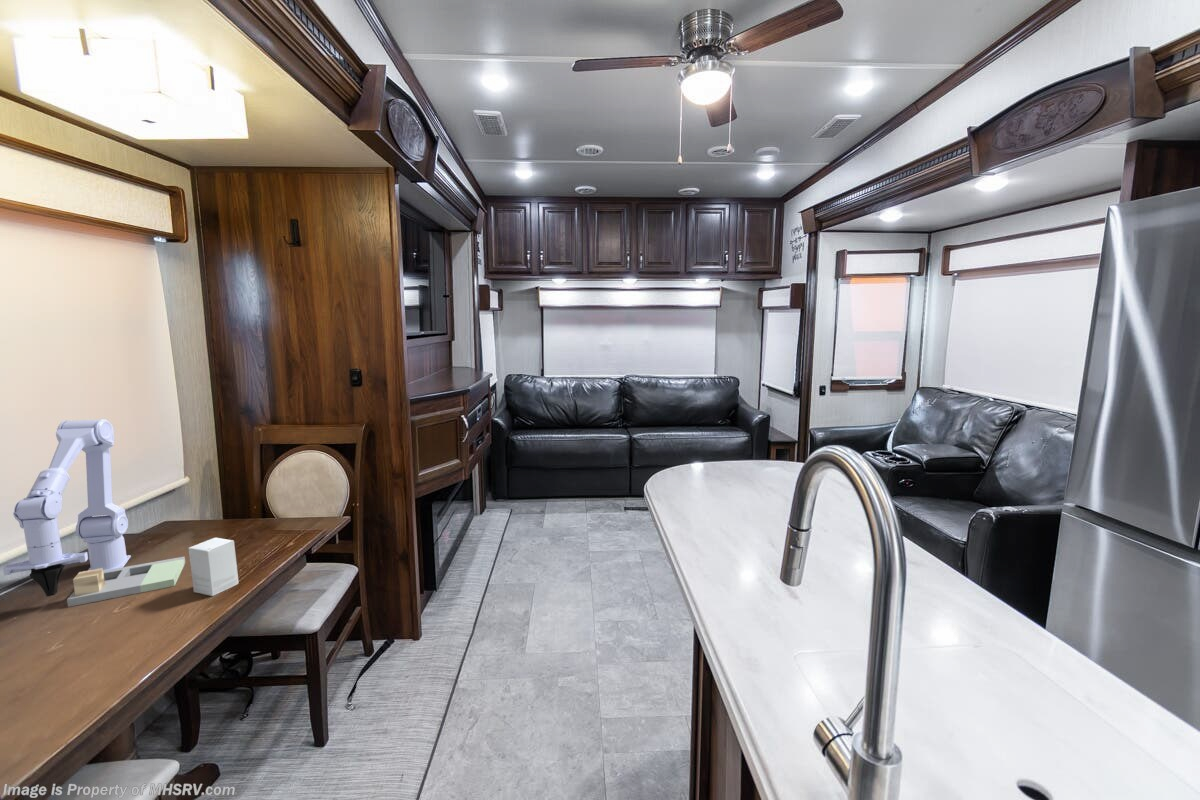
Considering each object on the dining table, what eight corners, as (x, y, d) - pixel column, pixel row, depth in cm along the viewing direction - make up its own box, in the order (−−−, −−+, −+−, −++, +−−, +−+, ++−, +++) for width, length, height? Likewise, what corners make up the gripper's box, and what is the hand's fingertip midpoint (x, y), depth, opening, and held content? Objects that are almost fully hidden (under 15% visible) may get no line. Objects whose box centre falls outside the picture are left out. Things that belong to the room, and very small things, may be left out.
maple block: (81, 588, 134) (79, 572, 134) (104, 584, 137) (102, 568, 136) (75, 596, 131) (72, 579, 130) (99, 591, 133) (97, 575, 132)
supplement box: (239, 583, 141) (235, 540, 139) (212, 597, 134) (206, 551, 132) (220, 579, 143) (216, 536, 142) (192, 592, 136) (187, 547, 135)
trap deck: (89, 580, 143) (88, 573, 142) (185, 562, 153) (184, 556, 153) (68, 607, 129) (66, 599, 129) (174, 585, 140) (173, 579, 139)
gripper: (-7, 555, 121) (2, 609, 123) (77, 542, 128) (85, 593, 130) (7, 544, 127) (16, 596, 129) (87, 533, 134) (94, 581, 136)
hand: (52, 594), depth 130 cm, fingers closed
